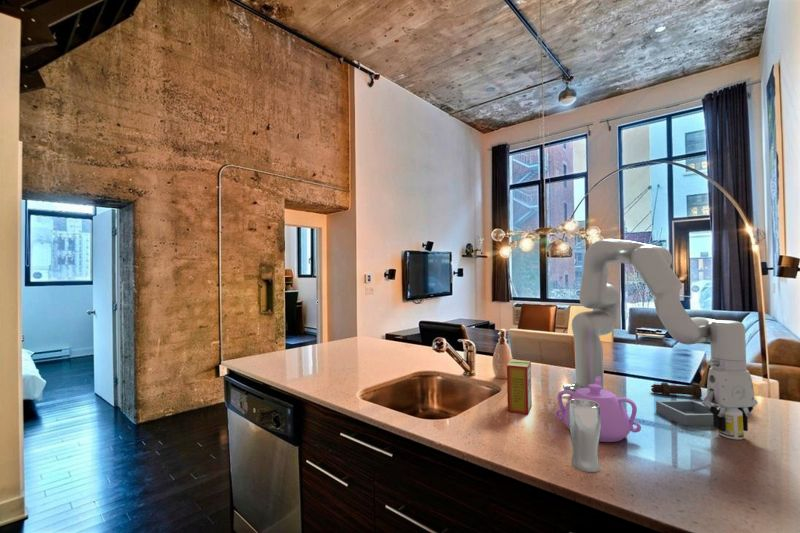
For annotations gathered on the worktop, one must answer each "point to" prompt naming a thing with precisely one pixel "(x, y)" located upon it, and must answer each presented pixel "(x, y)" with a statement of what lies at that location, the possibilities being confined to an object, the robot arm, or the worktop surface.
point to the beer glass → (585, 433)
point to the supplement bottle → (733, 424)
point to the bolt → (677, 389)
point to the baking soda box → (519, 387)
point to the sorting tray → (686, 413)
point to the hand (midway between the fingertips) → (730, 428)
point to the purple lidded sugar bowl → (603, 411)
